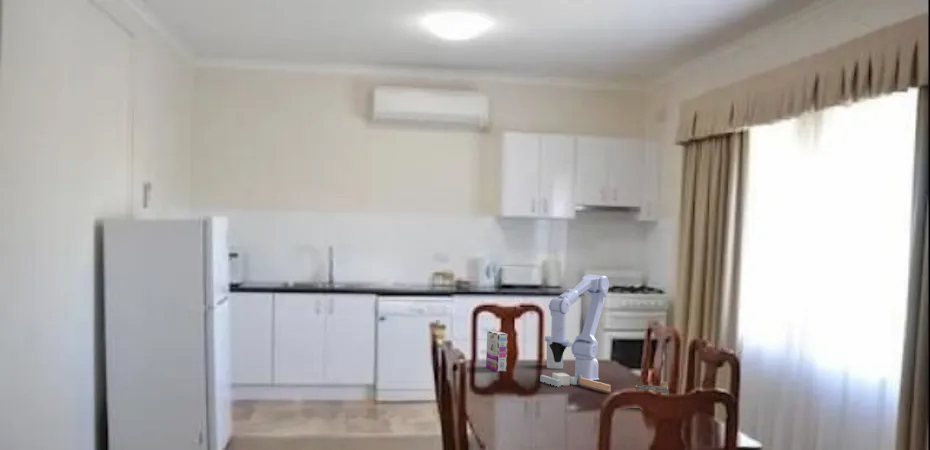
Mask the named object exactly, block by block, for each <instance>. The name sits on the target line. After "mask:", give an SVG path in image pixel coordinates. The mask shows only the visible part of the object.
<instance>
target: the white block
mask: <svg viewBox="0 0 930 450" xmlns="http://www.w3.org/2000/svg"><path fill="white" fill-rule="evenodd" d="M551 377H552V378H555V379H558V380H561V385H563V386H570V375H569V374H568V373H566V372H552V376H551Z"/></svg>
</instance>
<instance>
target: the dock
mask: <svg viewBox="0 0 930 450" xmlns="http://www.w3.org/2000/svg"><path fill="white" fill-rule="evenodd" d="M569 376H570V375H569ZM539 379H540V380H539V381H540V382H541V383H544V382H545V383H544V384H548V385H550V384H551V386H553V385H554V386H553V387H556V386H557V388H558V387H559V386H561V380H558V379H555V378H552V376H549V375H548V376H547V375H545V374H541V375H540V377H539ZM570 384H571V385H574V386H575V385H578V380H577V378H574V376H570ZM559 388H560V387H559Z"/></svg>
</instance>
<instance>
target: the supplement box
mask: <svg viewBox="0 0 930 450" xmlns="http://www.w3.org/2000/svg"><path fill="white" fill-rule="evenodd" d="M550 344H552V342H548V341H546V361H545V362H546V364H545V365H546V369H553V370H554V369H558V370H562V369H564V354H563V355H562V358H561V362H555V361H554V356H553V352H552V350H551V348H550V346H549V345H550Z"/></svg>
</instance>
